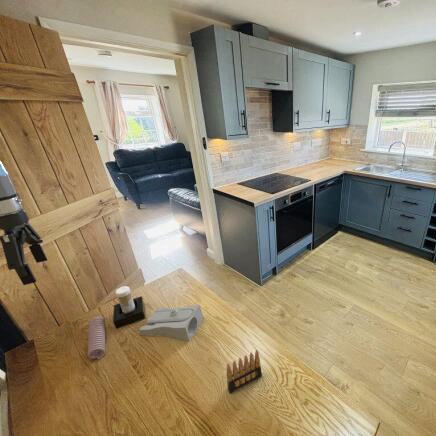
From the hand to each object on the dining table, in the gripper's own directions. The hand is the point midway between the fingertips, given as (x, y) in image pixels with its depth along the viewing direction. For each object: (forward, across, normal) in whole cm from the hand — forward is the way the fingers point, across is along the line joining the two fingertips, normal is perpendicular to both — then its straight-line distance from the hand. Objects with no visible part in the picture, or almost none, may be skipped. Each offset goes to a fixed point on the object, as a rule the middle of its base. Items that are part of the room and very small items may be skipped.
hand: (36, 271), depth 78 cm
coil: (+29, -10, -10) cm, 32 cm away
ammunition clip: (+29, -52, -50) cm, 78 cm away
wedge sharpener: (+29, -17, -34) cm, 48 cm away
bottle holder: (+29, -2, -20) cm, 35 cm away
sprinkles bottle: (+29, -2, -20) cm, 35 cm away
